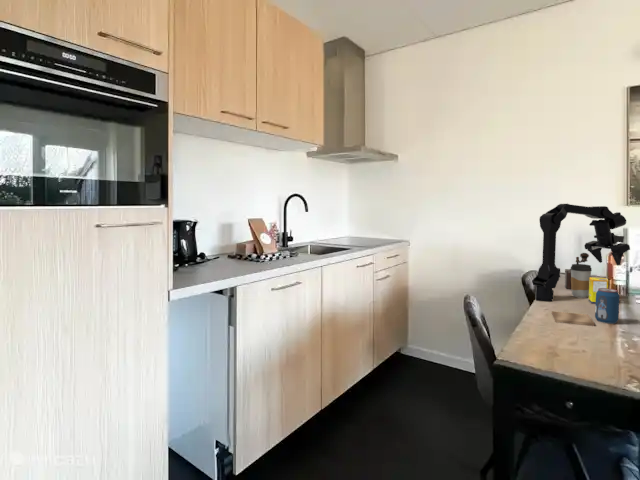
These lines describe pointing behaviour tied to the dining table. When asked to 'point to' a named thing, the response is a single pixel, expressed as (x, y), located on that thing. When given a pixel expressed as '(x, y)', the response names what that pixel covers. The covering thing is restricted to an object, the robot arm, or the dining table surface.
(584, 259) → the manual coffee grinder
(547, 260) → the robot arm
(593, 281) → the supplement box
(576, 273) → the coffee cup
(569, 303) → the dining table surface
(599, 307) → the soda can
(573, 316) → the tan flat square slab
